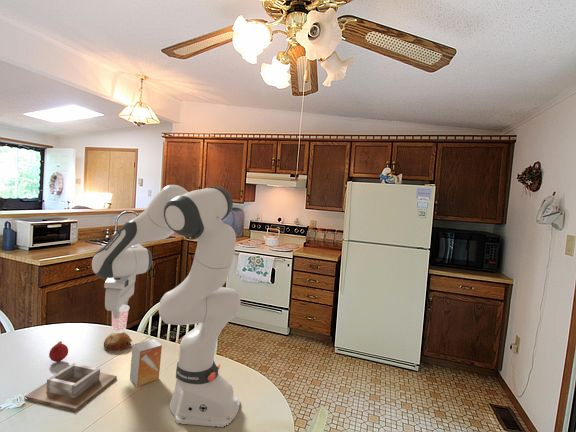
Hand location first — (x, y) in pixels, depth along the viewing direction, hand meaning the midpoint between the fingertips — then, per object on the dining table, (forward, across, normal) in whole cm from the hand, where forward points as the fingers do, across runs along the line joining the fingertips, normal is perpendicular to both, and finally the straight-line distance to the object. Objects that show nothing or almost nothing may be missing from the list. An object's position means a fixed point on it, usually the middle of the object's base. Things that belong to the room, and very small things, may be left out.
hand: (119, 314), depth 120 cm
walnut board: (+21, +12, -9) cm, 26 cm away
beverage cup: (+7, 0, 0) cm, 7 cm away
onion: (+21, -3, -22) cm, 30 cm away
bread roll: (+21, -17, -5) cm, 27 cm away
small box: (+21, +7, +12) cm, 25 cm away
